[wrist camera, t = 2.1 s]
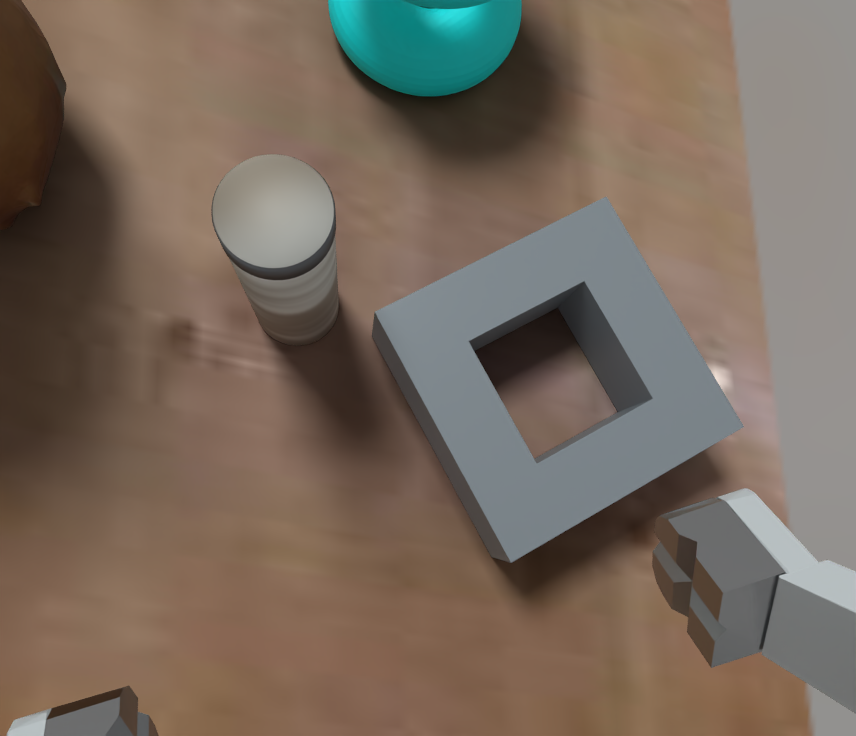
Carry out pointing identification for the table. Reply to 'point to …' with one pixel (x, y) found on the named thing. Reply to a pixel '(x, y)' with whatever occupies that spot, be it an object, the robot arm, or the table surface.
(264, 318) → the peg
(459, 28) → the donuts
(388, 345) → the socket
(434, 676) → the table surface
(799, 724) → the table surface
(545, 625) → the table surface
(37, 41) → the butternut squash
